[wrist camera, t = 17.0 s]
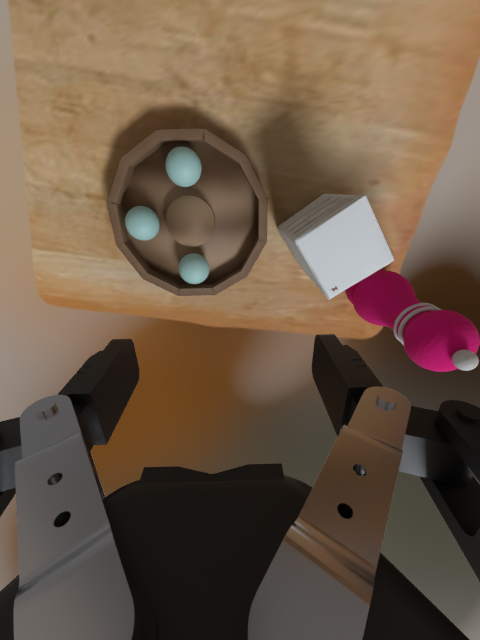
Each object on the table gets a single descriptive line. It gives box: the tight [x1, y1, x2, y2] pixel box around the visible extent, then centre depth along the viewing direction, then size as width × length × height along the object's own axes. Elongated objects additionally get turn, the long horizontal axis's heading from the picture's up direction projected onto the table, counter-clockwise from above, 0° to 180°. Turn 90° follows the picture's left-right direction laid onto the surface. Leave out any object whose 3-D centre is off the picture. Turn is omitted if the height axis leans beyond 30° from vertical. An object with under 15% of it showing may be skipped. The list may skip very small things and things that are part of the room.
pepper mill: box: [347, 269, 480, 372], centre depth 32 cm, size 7×7×20 cm
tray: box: [107, 129, 268, 296], centre depth 35 cm, size 19×19×3 cm
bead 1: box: [125, 206, 160, 241], centre depth 33 cm, size 4×4×4 cm
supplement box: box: [277, 194, 394, 300], centre depth 31 cm, size 7×7×13 cm
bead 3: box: [179, 253, 209, 284], centre depth 36 cm, size 4×4×4 cm
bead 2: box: [165, 146, 202, 187], centre depth 31 cm, size 4×4×4 cm
